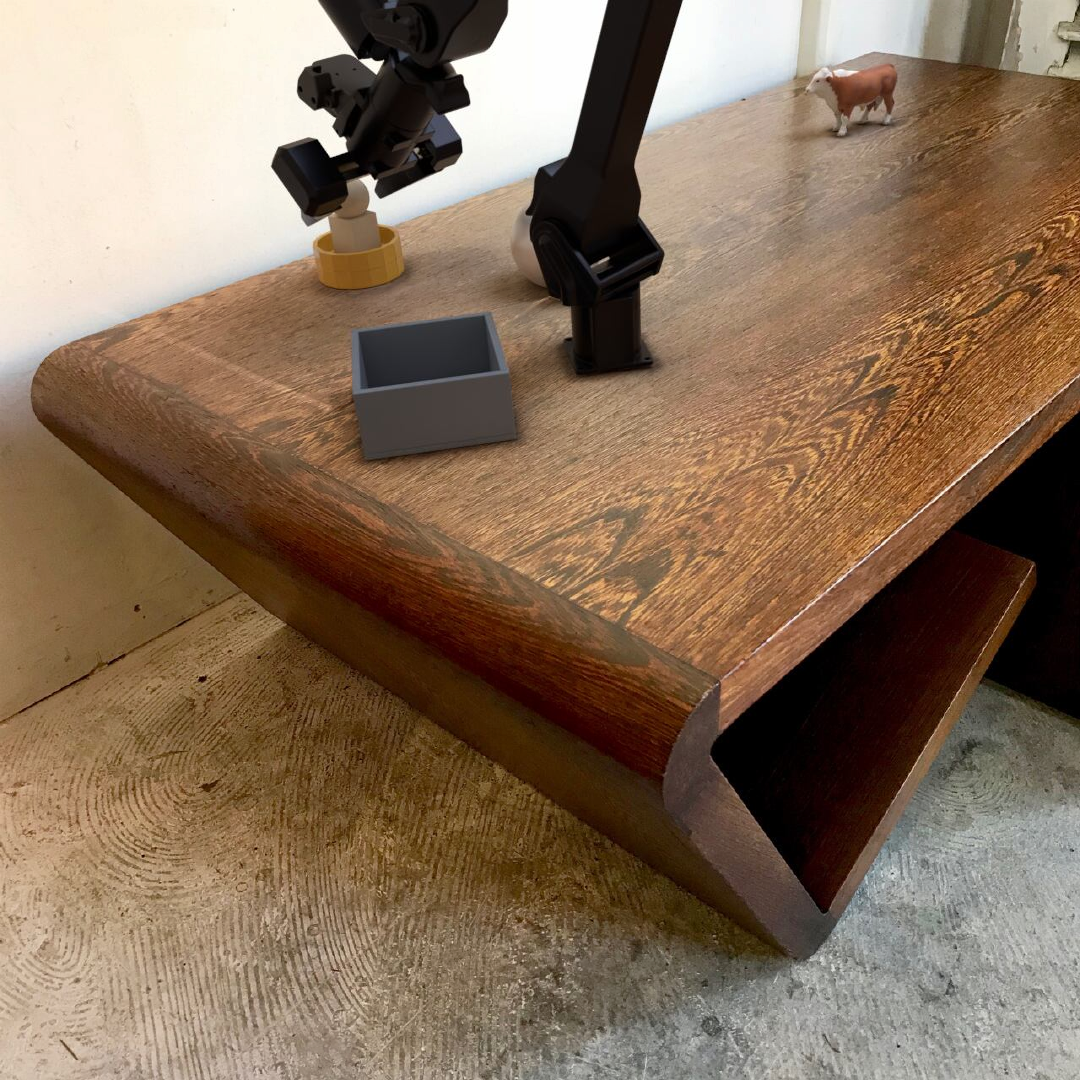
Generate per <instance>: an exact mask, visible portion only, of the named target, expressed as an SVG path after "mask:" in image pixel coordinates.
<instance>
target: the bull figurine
mask: <svg viewBox="0 0 1080 1080" xmlns="http://www.w3.org/2000/svg"><path fill="white" fill-rule="evenodd" d="M897 83H898V72H897V70H896V68H895V66H894V64H892V63H891V62H886V63H883V64H880V65H879V64H878V65H875V66H871V67H868V68H864V69H860V70H845V69H842V68H839V69H835V70H833V71H830V70H829V68H827V67H822V68H820V69H819V70H818V72H816V73H815V74H814V75H813V77H812V80H811V81H810V83H809V84H808V85H807V86H806V87H805V92H806V94H808V95H813V94H814V95H815V96H816V97H818V98H820V99H821V100H822V99H823V100H824V101H825V104H826V105H827V106H828V108H829V109H830V110H831V112H832V113H834V117H835V119H836V122H835V125H834V126H833V128H832V131H834V132H837V133H836V136H837V137H840V138H841V137H845V135H846V134H847V132H848V130H847V124H848V123H849V121H850V118H851V115H852V113H853V111H854V108H855V107H859V108H860V112H863V113H862V115H861V116H860V117H859V118H858V119H857V121H856V124H858V125H859V124H860V125H861V124H865V121H868V120H869V115H870V112H871V111H872V109H873V111H874V112H876V111H878V108H879V107H880V106H881V105H882V102H884V105H885V109H886V110H885V115H884V117H883V120H882V122H881V125H885V126H886V125H887V126H888V125H890V123H891V120H892V114H893V108H894V106H895V103H896V101H895V99H894V96H893V95H894V91H895V89H896V86H897Z"/></svg>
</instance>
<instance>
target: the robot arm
mask: <svg viewBox="0 0 1080 1080" xmlns="http://www.w3.org/2000/svg"><path fill="white" fill-rule="evenodd" d="M317 2H318V4H319V6H320V7H321V8H322V9H323V11H324V12H325V14H326V16H327V17H328V18H329V19H330V22H332V24H333V25H334V27H335V28H336V30H337V31H338V33H339V34H340V35H341V37H342V38H343V40H344V42H345V43H346V44H347V46H348V47H349V49H350V50H351V51H352V53H353V54H354V55H352V54H348V53H341V54H337V55H333V56H329V57H325V58H322V59H318V60H315V61H313V62H312V63H311V65H307V66H305V67H303V68H304V69H302V71H301V73H300V75H299V76H298V78H297V83H296V94H297V97H298V98H299V100H300V101H302V102H303V103H304V104H305V105H306V106H308V107H309V108H310V109H311V110H312V111H314V112H316V111H319V110H322V109H323V110H325V112H327V113H328V114H329V115H330V116H331V117H332V118H335V120H334V122H333V124H332V126H331V128H332V129H333V130H334V132H335V134H336V135H337V136H338V137H339V138H340V139H342V138H344V139H345V140H346V141H345V148H346V152H345V151H344V152H343V153H340V154H337V155H334V156H330V155H329V153H328V152H327V150H326V149H325V148H324V146H323V144H322V143H321V141H319V139H318V138H314V137H309V136H308V137H305V138H301V139H298V140H295V141H292V142H289V143H286V144H283V145H278V146H277V148H276V151H275V152H274V154H273V157H272V161H271V165H270V168H271V170H273V172H274V173H275V175H276V176H277V178H278V179H279V181H280V182H281V184H282V185H283V187H284V188H285V189H286V191H287V192H288V194H289V195H290V196H291V198H292V199H293V201H294V202H295V204H296V205H297V207H298V208H299V209H300V218H301V221H302V222H303V223H304V224H305V227H311V226H313V225H315V224H317V223H318V222H321V221H323V220H324V219H326V218H328V216H329V215H331V214H334V213H335V212H336V211H338V210H340V209H342V206H341V204H342V203H344V202H345V200H346V198H347V197H348V195H349V194H348V188H347V183H349V182H352V181H355V180H358V179H359V180H361V179H363V178H366V177H369V176H371V177H372V179H373V180H374V181H376V182H375V183H376V184H375V186H374V190H373V191H374V193H375V195H376V196H377V197H378V199H379V200H382V199H384V198H386V197H389V196H391V195H393V194H395V193H397V192H399V191H401V190H403V189H405V188H407V187H409V186H412V185H415V184H416V183H418V182H420V181H423V180H425V179H427V178H429V177H431V176H434V175H435V174H438V173H440V172H443V171H444V170H445V169H446V168H449V167H451V166H455V165H456V163H458V161H459V159H460V158H461V156H462V155H463V153H464V151H463V139H462V137H461V136H460V134H459V133H458V131H457V130H456V129H455V127H454V126H453V124H452V123H451V122H450V120H449V119H448V117H447V115H446V114H449V113H453V112H456V111H458V110H461V109H464V108H468V107H469V106H471V96H470V92H469V90H468V88H467V87H466V85H465V77H464V75H463V74H462V73H457V71H456V69H455V67H454V66H453V65H452V62H455V61H459V60H463V59H466V58H470V57H473V56H475V55H479V54H483V53H485V52H487V51H488V50H489V49H490V48H491V47H492V46H493V44H494V43H495V41H496V39H497V37H498V35H499V32H501V29H502V28H503V25H504V23H505V21H506V19H507V18H508V15H509V6H510V5H509V3H510V2H509V0H317ZM683 2H684V0H607V2H606V4H605V5H606V6H605V9H604V14H603V18H602V22H601V26H600V30H599V34H598V38H597V43H596V45H595V46H596V47H595V50H594V54H593V58H592V63H591V67H590V71H589V75H588V79H587V83H586V87H585V91H584V96H583V99H582V103H581V107H580V111H579V116H578V118H577V119H578V120H577V124H576V129H575V132H574V135H573V139H572V144H571V148H570V151H569V152H568V155H567V156H565V157H561V158H560V159H557V160H554V161H553V162H550V163H547V164H544V165H542V166H539V167H538V169H537V171H536V174H535V177H534V180H533V193H532V198H531V199H532V201H531V204H530V206H529V207H528V209H527V210H526V212H525V214H526V215H527V216H532V217H531V220H530V228H529V234H530V241H531V242H532V244H533V248H534V251H535V254H536V257H537V260H538V263H539V266H540V269H541V272H542V275H543V278H544V281H545V284H546V287H547V288H546V290H547V293H548V295H549V297H551V298H553V299H556V300H559V301H560V302H561V305H562V306H564V307H567V308H570V321H571V336H570V337H565V338H563V339H562V342H563V347H564V349H565V352H566V354H567V357H568V359H569V361H570V364H571V367H572V369H573V371H574V373H575V375H577V376H586V375H593V374H600V373H609V372H616V371H623V370H630V369H637V368H644V367H645V368H646V367H650V366H652V365H654V357H653V355H652V353H651V352H650V350H649V348H648V346H647V345H646V343H645V341H644V340H643V338H642V310H641V309H642V305H641V299H642V298H641V282H643V281H645V280H647V279H649V278H650V277H651V278H652V277H655V276H656V275H659V273H660V271H661V268H662V265H663V262H664V258H665V254H666V253H665V251H664V249H663V248H662V246H661V244H659V242H658V241H657V239H656V238H655V236H654V235H653V234H652V232H651V231H650V229H649V228H648V226H647V225H646V223H645V222H644V221H643V220H642V218H641V217H640V209H641V202H642V190H641V186H640V183H639V179H638V175H637V171H636V168H635V164H636V158H637V154H638V152H639V150H640V146H641V143H642V139H643V135H644V132H645V129H646V126H647V122H648V119H649V115H650V112H651V109H652V106H653V102H654V98H655V95H656V92H657V89H658V86H659V83H660V80H661V79H660V78H661V75H662V72H663V69H664V66H665V63H666V59H667V56H668V51H669V49H670V46H671V42H672V38H673V35H674V32H675V28H676V25H677V22H678V18H679V15H680V12H681V9H682V5H683ZM370 59H372V60H373V61H374V62H382V63H381V65H380V67H379V69H378V71H377V73H375V72H374V71H373V70H372V69H371V68H369V67H368V66H367V65H365V64H364V63H363V62H362V61H361V60H370ZM606 258H608V259H606ZM605 259H606V260H605ZM603 260H604V261H603ZM597 262H598V264H597V265H596V266H594V267H592V268H591V267H590V266H591V265H593V264H595V263H597ZM599 262H600V263H599Z"/></svg>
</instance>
